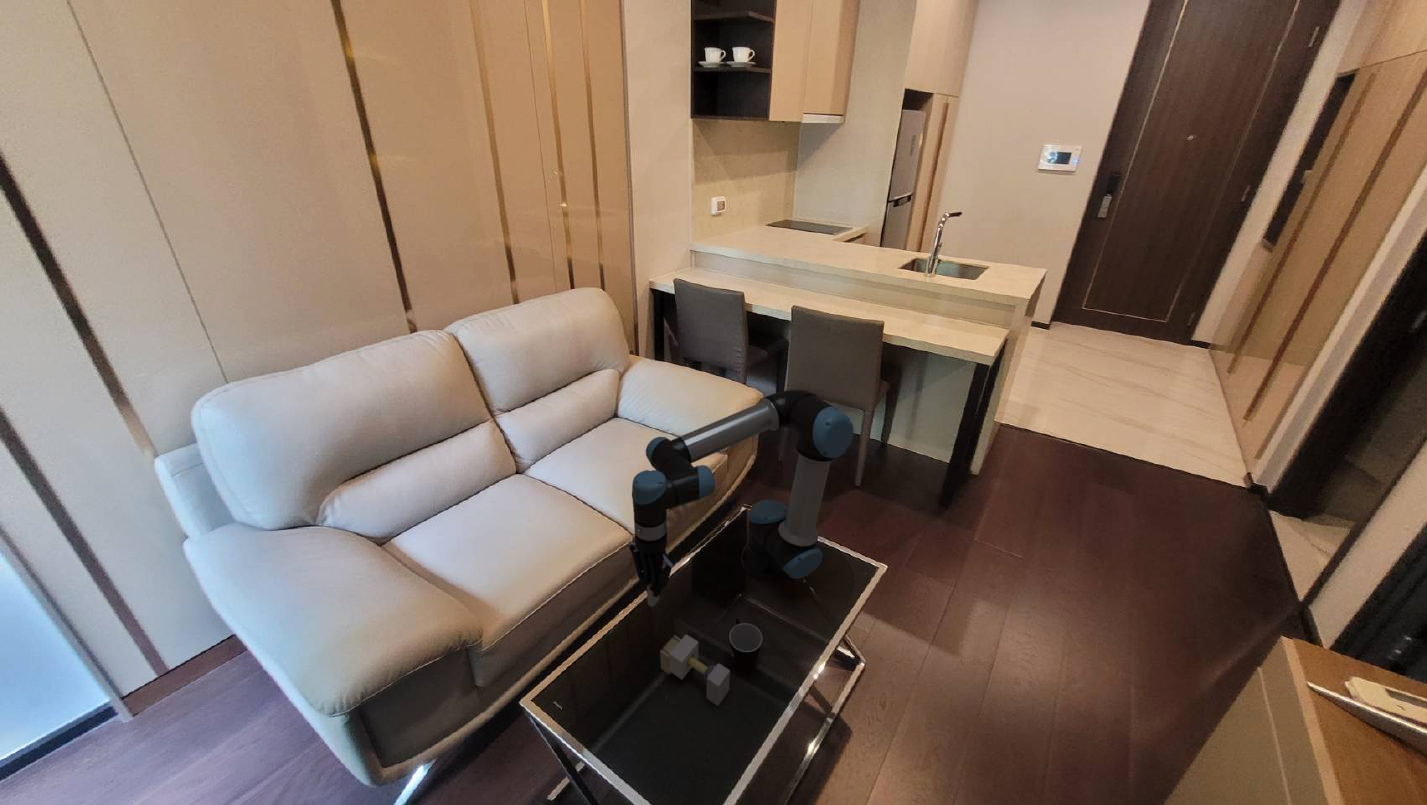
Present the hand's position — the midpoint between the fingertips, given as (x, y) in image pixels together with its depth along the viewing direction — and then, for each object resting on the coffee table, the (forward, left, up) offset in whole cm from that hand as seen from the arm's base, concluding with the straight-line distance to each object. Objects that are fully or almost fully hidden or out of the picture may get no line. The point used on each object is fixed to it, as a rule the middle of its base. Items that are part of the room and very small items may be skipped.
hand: (653, 602), depth 133 cm
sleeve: (0, +10, -17) cm, 20 cm away
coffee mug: (-13, +20, -20) cm, 31 cm away
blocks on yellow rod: (0, +13, -20) cm, 24 cm away
